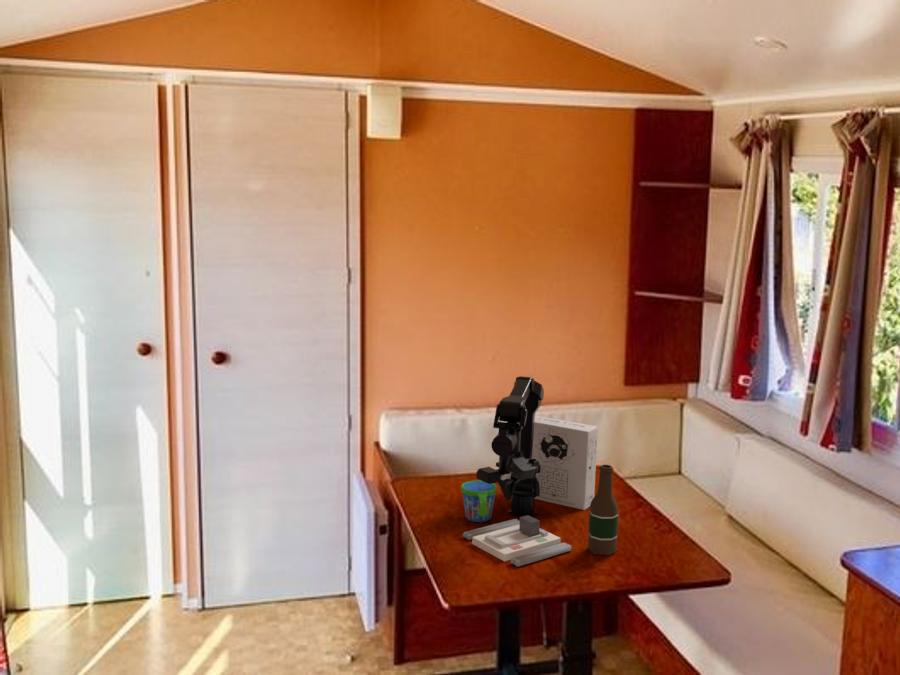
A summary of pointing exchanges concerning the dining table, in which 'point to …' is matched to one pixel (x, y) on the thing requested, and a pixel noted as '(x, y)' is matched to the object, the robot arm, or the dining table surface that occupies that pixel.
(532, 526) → the switch knob
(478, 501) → the snack cup
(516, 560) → the grey twin rods
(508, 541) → the breaker panel
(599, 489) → the beer bottle
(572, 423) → the cereal box
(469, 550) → the dining table surface
